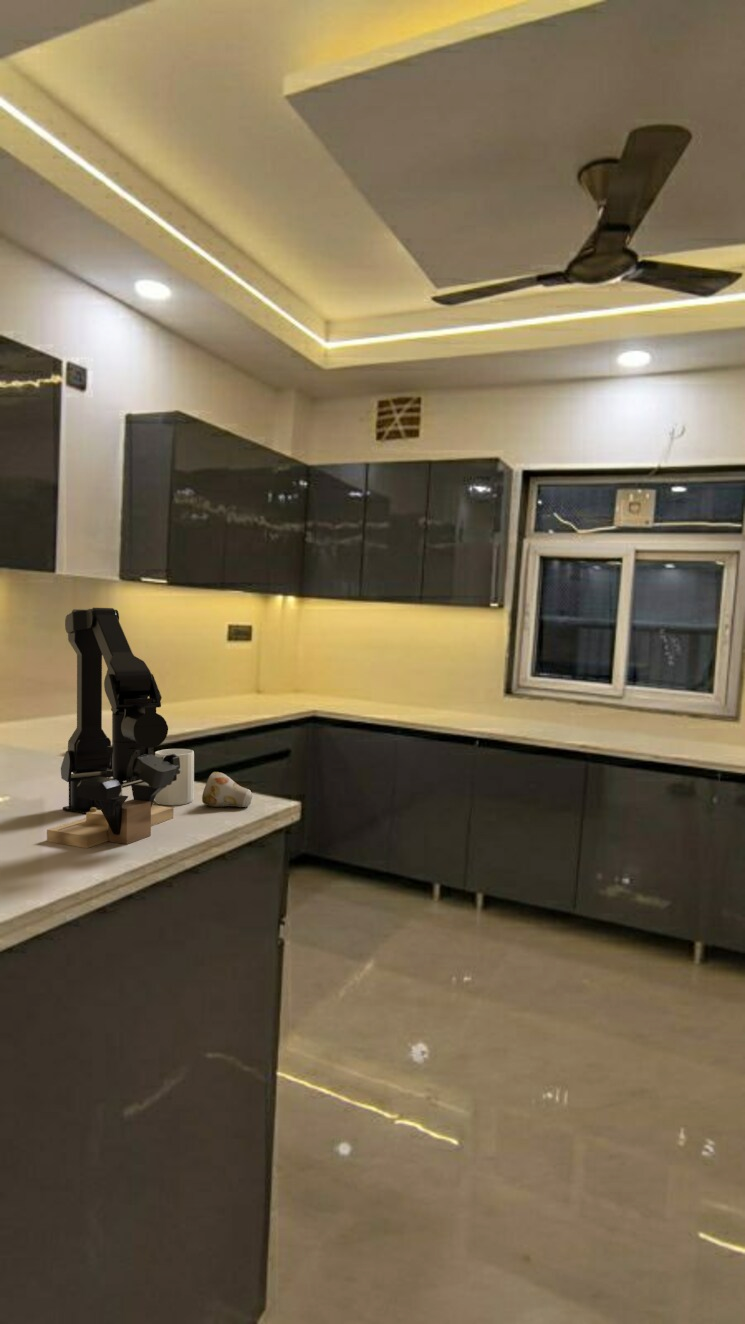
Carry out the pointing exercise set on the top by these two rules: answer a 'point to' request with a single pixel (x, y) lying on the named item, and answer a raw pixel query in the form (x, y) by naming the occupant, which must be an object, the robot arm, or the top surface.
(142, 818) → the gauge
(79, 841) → the board
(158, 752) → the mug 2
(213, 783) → the patterned white vase
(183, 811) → the top surface
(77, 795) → the robot arm
